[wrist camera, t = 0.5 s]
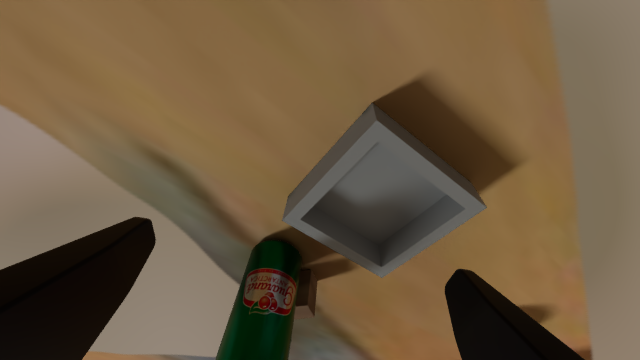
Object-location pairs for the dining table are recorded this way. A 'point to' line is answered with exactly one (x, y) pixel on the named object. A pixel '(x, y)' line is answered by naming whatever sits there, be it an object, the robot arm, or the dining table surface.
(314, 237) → the tray
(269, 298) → the soda can
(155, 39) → the dining table surface
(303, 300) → the brown rectangular block
